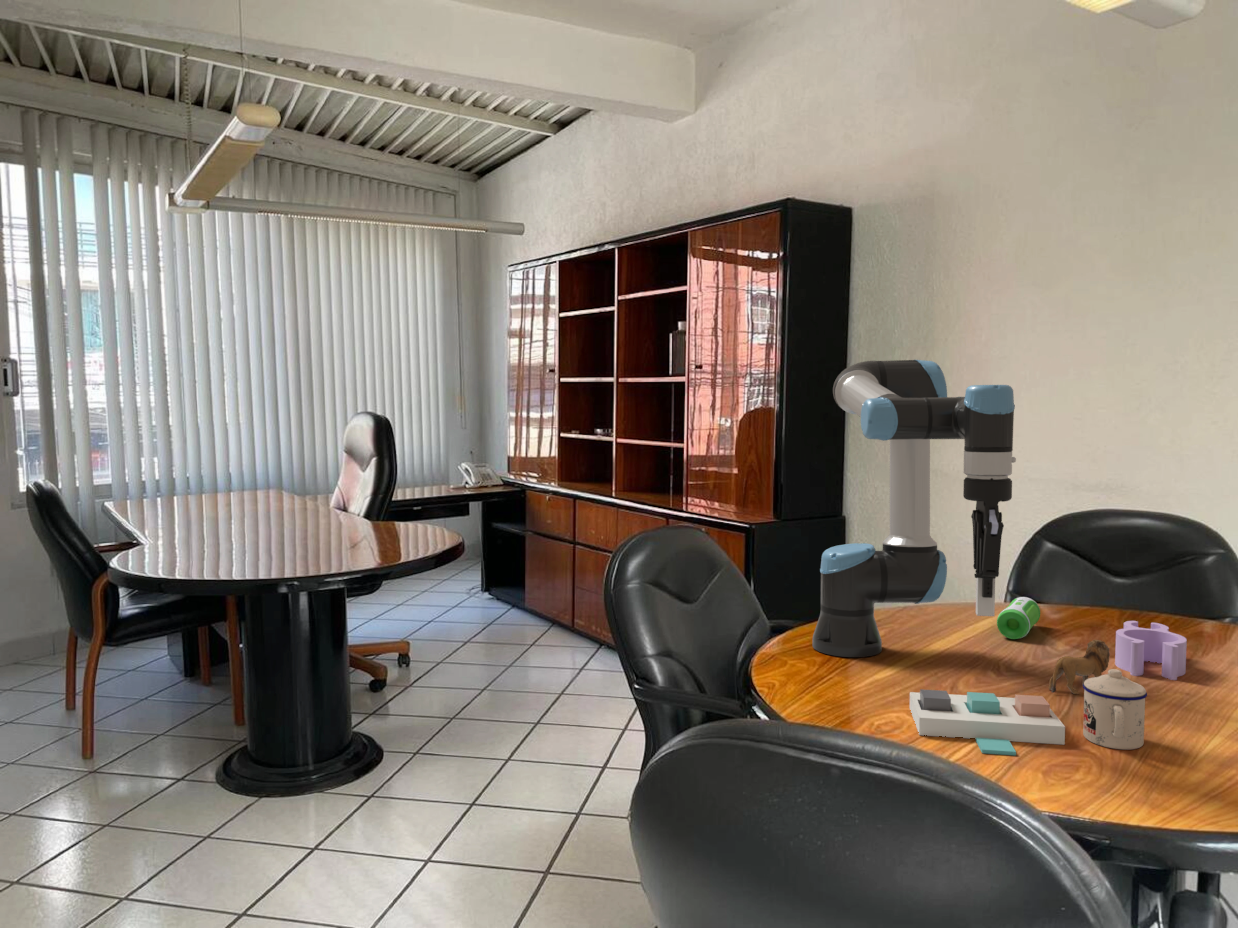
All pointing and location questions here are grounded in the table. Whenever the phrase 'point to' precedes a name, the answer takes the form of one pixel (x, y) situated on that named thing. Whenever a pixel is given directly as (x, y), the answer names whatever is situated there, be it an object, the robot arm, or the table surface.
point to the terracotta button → (1032, 706)
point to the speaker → (1018, 618)
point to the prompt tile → (995, 746)
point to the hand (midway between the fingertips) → (984, 614)
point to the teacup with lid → (1114, 711)
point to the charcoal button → (935, 700)
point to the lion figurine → (1082, 665)
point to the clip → (1150, 649)
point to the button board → (986, 722)
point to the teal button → (983, 703)
